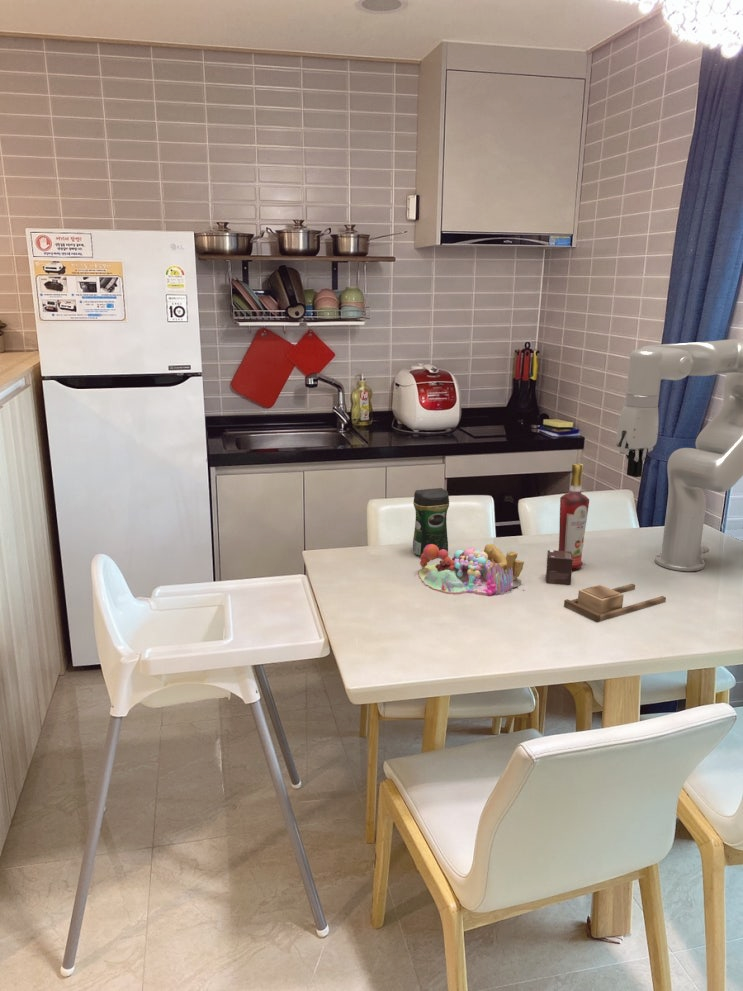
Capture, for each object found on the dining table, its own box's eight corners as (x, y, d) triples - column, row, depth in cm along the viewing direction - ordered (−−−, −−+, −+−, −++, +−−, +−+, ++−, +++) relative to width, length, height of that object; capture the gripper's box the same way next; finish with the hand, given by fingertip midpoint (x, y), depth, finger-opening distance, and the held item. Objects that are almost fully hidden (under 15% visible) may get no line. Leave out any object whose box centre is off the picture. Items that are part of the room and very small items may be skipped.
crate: (598, 600, 181) (600, 583, 180) (621, 610, 175) (623, 593, 174) (577, 606, 178) (578, 589, 177) (600, 617, 172) (602, 599, 171)
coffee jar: (439, 547, 218) (442, 484, 213) (451, 556, 211) (454, 491, 206) (408, 551, 215) (409, 486, 210) (419, 560, 208) (421, 494, 203)
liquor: (573, 561, 208) (581, 460, 201) (588, 570, 202) (598, 466, 194) (549, 563, 206) (557, 462, 199) (564, 573, 199) (573, 468, 192)
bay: (631, 589, 189) (632, 581, 189) (665, 603, 181) (666, 595, 180) (563, 608, 178) (564, 600, 177) (596, 623, 169) (597, 615, 169)
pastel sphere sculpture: (483, 559, 210) (485, 526, 208) (539, 588, 190) (541, 553, 188) (404, 573, 199) (405, 539, 197) (454, 606, 179) (455, 569, 177)
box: (570, 587, 190) (573, 559, 188) (545, 585, 192) (548, 557, 190) (569, 578, 196) (571, 551, 194) (545, 576, 197) (547, 549, 195)
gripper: (649, 397, 191) (642, 469, 196) (607, 401, 184) (601, 476, 188) (675, 401, 185) (666, 475, 190) (633, 406, 177) (625, 482, 182)
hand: (634, 475), depth 189 cm, fingers closed
